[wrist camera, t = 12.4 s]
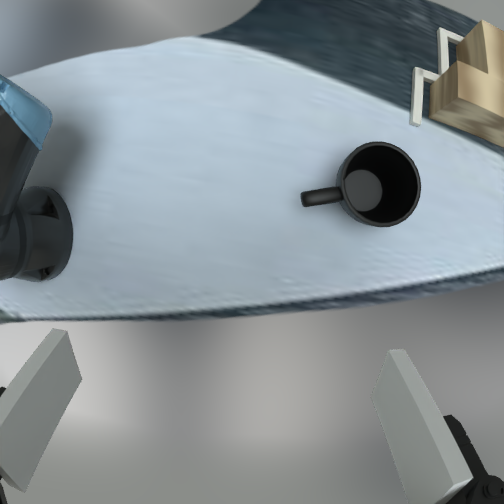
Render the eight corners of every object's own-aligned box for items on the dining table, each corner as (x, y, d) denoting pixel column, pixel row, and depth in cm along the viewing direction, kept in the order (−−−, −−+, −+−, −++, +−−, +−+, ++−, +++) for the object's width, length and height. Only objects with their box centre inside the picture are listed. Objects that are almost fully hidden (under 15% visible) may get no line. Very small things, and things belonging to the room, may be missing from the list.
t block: (428, 117, 35) (458, 97, 26) (429, 36, 33) (452, 5, 24) (507, 149, 33) (543, 139, 25) (504, 69, 31) (533, 49, 23)
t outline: (409, 124, 35) (412, 121, 34) (412, 22, 33) (415, 18, 32) (518, 166, 33) (523, 165, 32) (515, 68, 31) (518, 65, 30)
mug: (292, 167, 38) (292, 152, 29) (386, 153, 36) (412, 137, 27) (305, 234, 39) (308, 240, 29) (398, 218, 37) (427, 220, 28)
